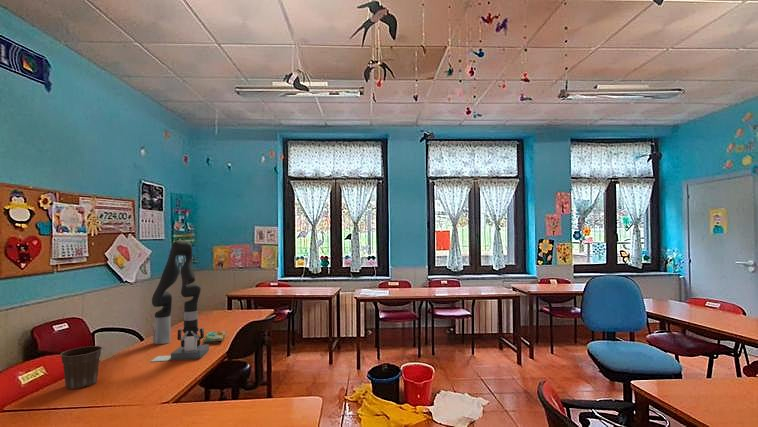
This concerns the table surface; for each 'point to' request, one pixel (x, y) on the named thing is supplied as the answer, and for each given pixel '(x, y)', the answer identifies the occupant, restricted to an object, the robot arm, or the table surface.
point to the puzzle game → (214, 337)
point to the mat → (161, 358)
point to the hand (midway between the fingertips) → (190, 346)
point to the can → (190, 343)
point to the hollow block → (189, 353)
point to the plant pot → (81, 366)
